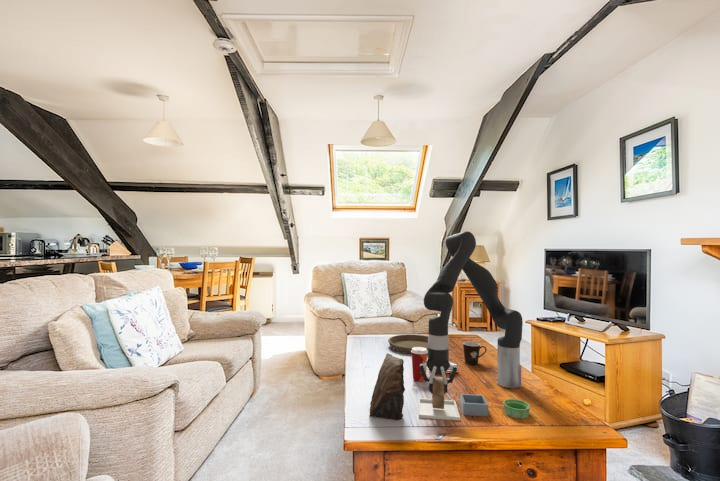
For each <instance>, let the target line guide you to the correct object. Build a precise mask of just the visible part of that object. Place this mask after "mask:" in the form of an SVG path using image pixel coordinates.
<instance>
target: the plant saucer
mask: <svg viewBox="0 0 720 481" xmlns="http://www.w3.org/2000/svg"><path fill="white" fill-rule="evenodd" d="M388 344H389V345H390V346H391V348H392V349H393V350H395V351H396V352H399V353H402V352H403V353H404V354H409V355H412V352H411V350H412V348H413V347H423V348H426V349H427V351H428V335H423V334H398V335H394V336H391V337H390V338H388Z"/></svg>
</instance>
